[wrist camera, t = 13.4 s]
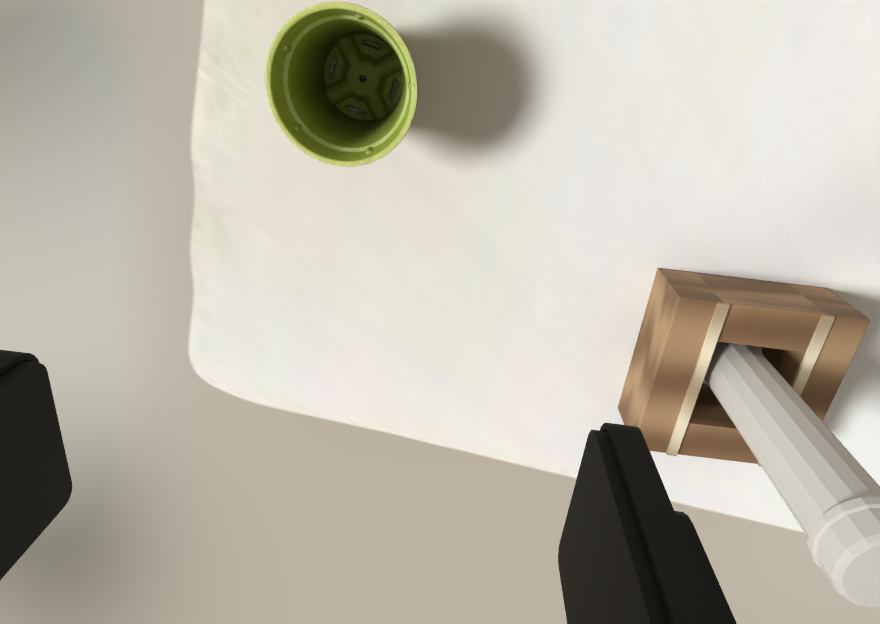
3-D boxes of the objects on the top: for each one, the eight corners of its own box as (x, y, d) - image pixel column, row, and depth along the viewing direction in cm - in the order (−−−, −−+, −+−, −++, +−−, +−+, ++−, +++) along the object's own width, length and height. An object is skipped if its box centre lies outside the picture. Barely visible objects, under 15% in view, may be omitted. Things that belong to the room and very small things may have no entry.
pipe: (763, 335, 50) (1090, 678, 23) (716, 388, 53) (961, 755, 26) (711, 306, 50) (985, 627, 22) (665, 362, 52) (862, 711, 25)
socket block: (657, 268, 48) (681, 299, 43) (826, 288, 48) (872, 322, 43) (617, 407, 54) (634, 451, 49) (767, 425, 54) (801, 471, 49)
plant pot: (443, 30, 42) (435, 30, 34) (409, 158, 46) (395, 184, 38) (315, -11, 41) (278, -21, 33) (292, 122, 45) (254, 142, 37)
